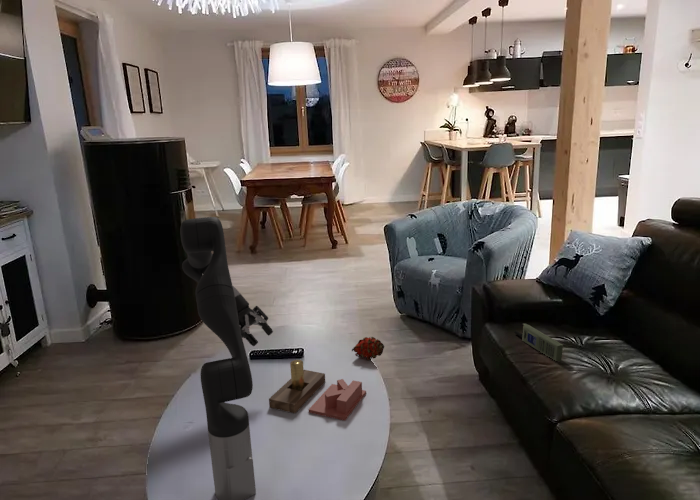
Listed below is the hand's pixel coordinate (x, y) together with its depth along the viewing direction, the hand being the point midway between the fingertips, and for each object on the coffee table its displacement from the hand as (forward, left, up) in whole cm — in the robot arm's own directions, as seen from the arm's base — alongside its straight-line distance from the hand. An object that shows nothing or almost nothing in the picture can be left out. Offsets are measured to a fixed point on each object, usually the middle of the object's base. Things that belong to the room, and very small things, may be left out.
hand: (263, 339), depth 160 cm
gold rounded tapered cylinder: (-10, -5, -17) cm, 21 cm away
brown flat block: (-11, -5, -17) cm, 21 cm away
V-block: (-22, -11, -17) cm, 30 cm away
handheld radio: (-42, -90, -18) cm, 101 cm away
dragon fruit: (-6, -38, -17) cm, 43 cm away
